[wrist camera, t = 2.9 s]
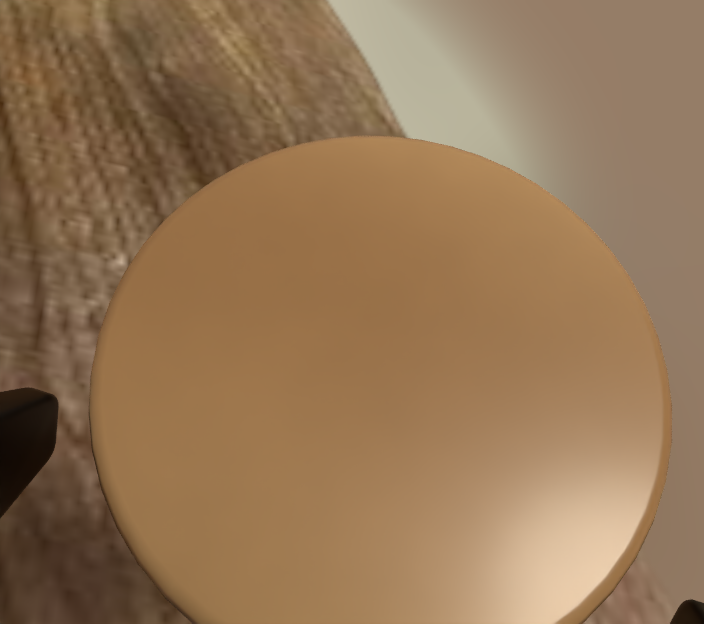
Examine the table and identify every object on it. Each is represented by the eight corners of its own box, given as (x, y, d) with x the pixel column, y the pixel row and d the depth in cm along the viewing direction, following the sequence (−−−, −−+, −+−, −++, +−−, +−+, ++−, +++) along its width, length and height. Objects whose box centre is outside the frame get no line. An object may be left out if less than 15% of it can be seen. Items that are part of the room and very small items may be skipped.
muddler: (431, 666, 14) (1082, 1060, 2) (236, 656, 14) (-366, 984, 2) (429, 469, 17) (737, 53, 4) (259, 459, 17) (47, 9, 4)
